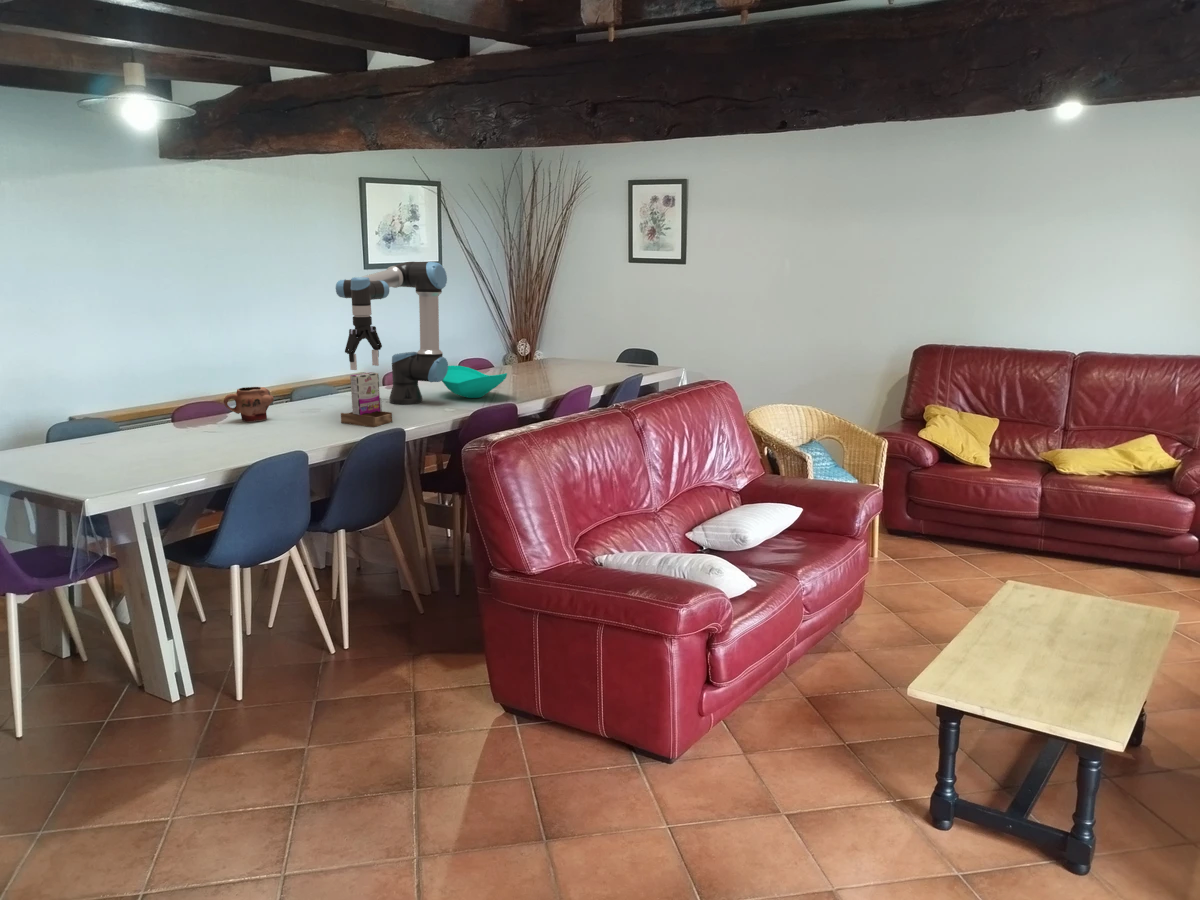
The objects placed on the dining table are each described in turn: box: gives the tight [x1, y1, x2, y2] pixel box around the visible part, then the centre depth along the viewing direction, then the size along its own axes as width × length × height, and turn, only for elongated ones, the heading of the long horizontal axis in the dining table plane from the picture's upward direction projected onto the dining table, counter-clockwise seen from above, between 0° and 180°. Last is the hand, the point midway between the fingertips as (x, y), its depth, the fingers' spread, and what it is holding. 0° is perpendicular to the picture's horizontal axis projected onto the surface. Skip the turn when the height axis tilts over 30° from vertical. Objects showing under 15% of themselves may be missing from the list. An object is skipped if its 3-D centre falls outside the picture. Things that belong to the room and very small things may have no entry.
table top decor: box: [441, 365, 508, 399], centre depth 444 cm, size 40×28×13 cm
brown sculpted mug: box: [223, 386, 275, 423], centre depth 382 cm, size 20×12×14 cm, turn 132°
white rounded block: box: [380, 397, 383, 411], centre depth 395 cm, size 6×6×8 cm
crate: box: [340, 410, 393, 428], centre depth 383 cm, size 12×17×4 cm
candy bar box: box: [349, 371, 381, 415], centre depth 381 cm, size 11×5×16 cm, turn 143°
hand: (364, 367), depth 379 cm, fingers open, 13 cm apart
